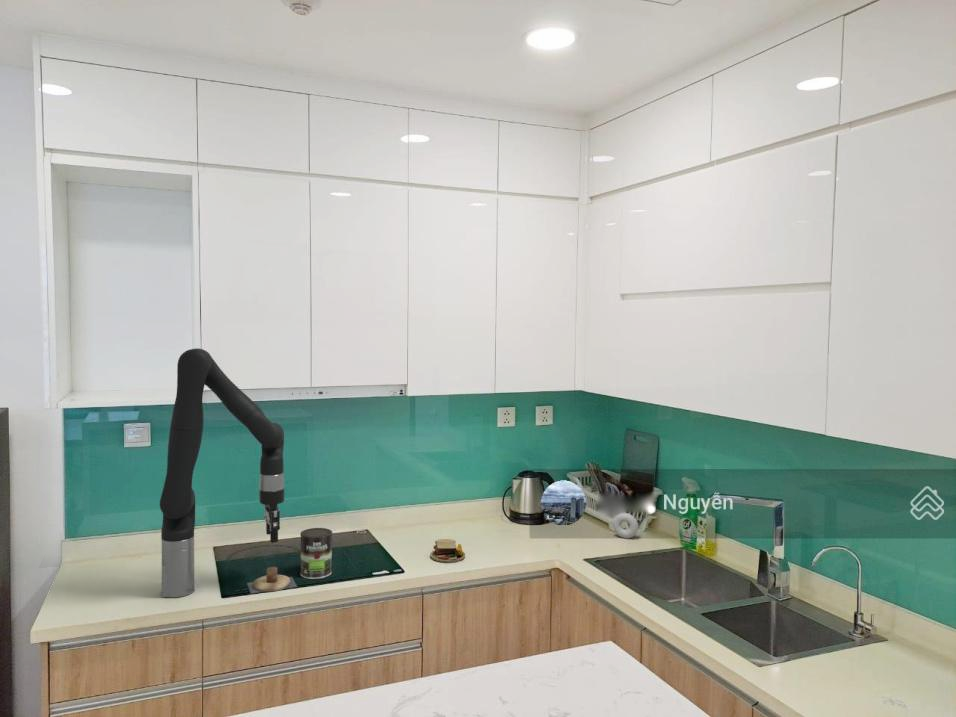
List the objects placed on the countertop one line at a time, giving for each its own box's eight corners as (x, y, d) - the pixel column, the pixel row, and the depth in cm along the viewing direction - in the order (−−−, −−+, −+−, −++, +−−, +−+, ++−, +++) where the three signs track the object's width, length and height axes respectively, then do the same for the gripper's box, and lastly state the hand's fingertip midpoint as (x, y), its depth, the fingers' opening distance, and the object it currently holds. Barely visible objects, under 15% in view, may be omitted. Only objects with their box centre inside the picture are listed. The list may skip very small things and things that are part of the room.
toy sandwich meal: (429, 563, 241) (429, 550, 240) (431, 550, 254) (431, 538, 254) (465, 564, 241) (465, 550, 241) (464, 551, 255) (465, 538, 254)
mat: (250, 594, 211) (250, 593, 211) (247, 584, 219) (247, 582, 219) (297, 587, 217) (297, 586, 217) (291, 577, 225) (291, 576, 225)
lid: (256, 593, 211) (256, 577, 210) (251, 581, 220) (251, 565, 220) (292, 588, 215) (292, 572, 215) (286, 576, 225) (286, 560, 225)
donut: (611, 537, 273) (612, 512, 272) (613, 534, 276) (614, 510, 276) (636, 541, 269) (637, 515, 268) (638, 538, 272) (639, 513, 272)
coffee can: (333, 578, 225) (333, 536, 224) (300, 581, 222) (300, 538, 222) (331, 567, 235) (331, 526, 234) (299, 569, 232) (300, 528, 231)
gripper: (256, 483, 221) (256, 532, 222) (262, 493, 208) (262, 546, 209) (280, 481, 224) (280, 530, 225) (288, 491, 211) (288, 543, 212)
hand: (272, 538), depth 217 cm, fingers open, 8 cm apart
